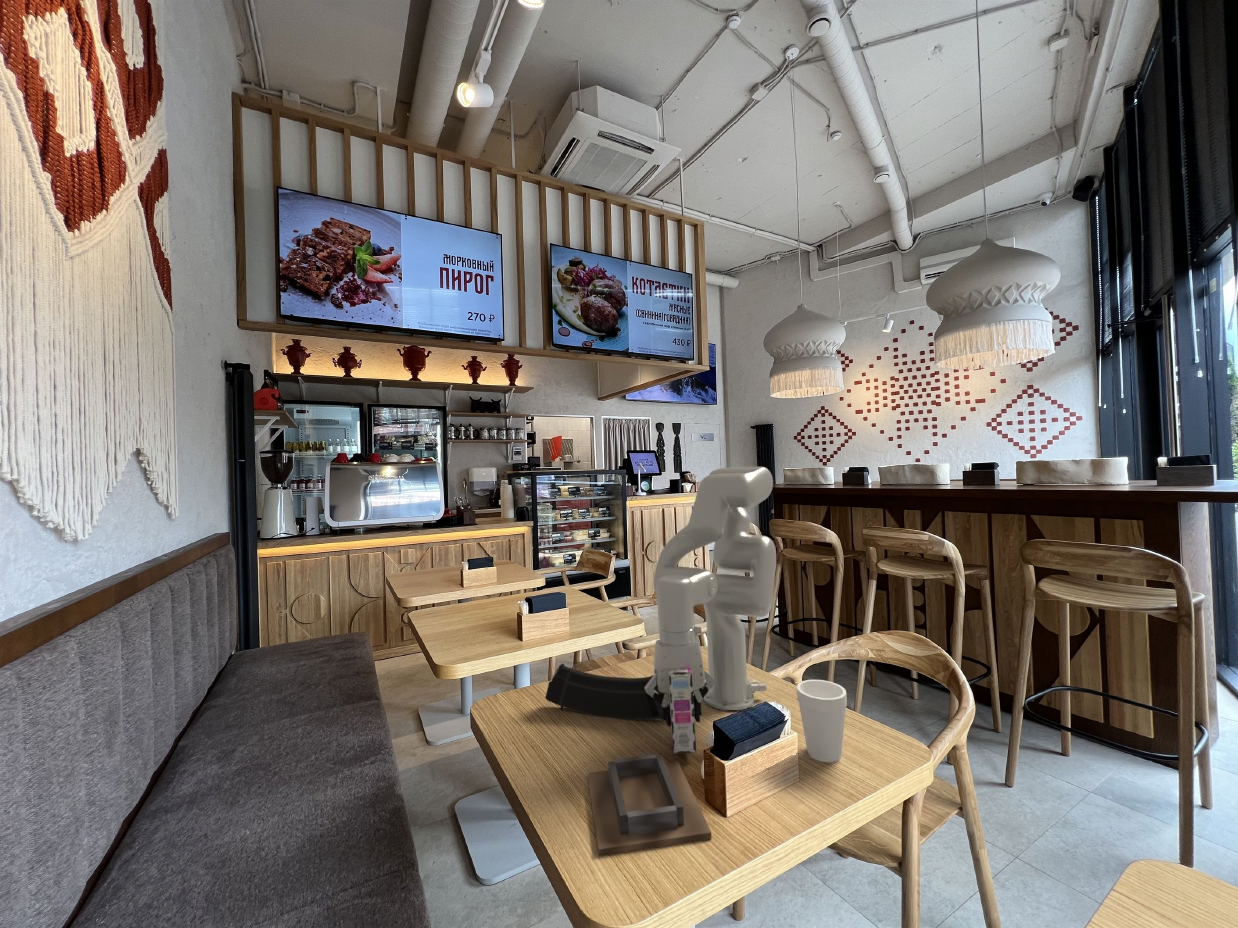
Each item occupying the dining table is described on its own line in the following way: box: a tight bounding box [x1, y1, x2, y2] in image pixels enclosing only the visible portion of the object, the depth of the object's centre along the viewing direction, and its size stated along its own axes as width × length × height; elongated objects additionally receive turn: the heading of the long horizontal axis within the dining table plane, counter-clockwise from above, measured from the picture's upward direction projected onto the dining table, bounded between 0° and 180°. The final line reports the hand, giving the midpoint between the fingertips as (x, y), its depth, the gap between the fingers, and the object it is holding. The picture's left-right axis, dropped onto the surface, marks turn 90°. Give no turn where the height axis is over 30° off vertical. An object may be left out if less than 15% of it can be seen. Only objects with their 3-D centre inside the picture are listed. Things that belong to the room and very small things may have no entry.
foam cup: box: [796, 679, 848, 763], centre depth 102 cm, size 10×9×13 cm
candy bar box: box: [668, 668, 697, 754], centre depth 106 cm, size 11×5×16 cm, turn 178°
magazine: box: [545, 663, 664, 721], centre depth 122 cm, size 17×3×30 cm
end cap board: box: [587, 753, 713, 857], centre depth 88 cm, size 18×20×4 cm
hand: (681, 719), depth 105 cm, fingers closed on candy bar box, 5 cm apart
